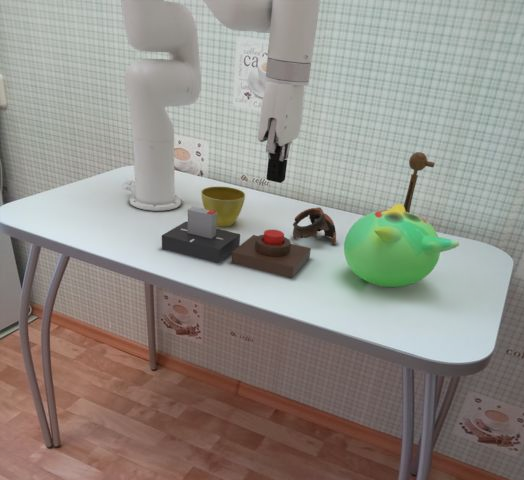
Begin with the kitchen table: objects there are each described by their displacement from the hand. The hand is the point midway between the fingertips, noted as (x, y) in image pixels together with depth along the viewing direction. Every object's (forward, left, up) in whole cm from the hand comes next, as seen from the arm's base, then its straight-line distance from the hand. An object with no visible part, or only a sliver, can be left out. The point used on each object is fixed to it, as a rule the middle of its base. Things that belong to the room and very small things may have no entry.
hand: (275, 180), depth 97 cm
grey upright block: (-14, -4, -13) cm, 19 cm away
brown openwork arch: (+5, +15, -16) cm, 23 cm away
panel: (-14, -4, -16) cm, 21 cm away
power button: (+1, -2, -12) cm, 12 cm away
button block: (+1, -2, -16) cm, 16 cm away
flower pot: (-17, +12, -16) cm, 26 cm away
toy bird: (+24, +1, -16) cm, 29 cm away
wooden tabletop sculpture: (+23, +27, -16) cm, 39 cm away
